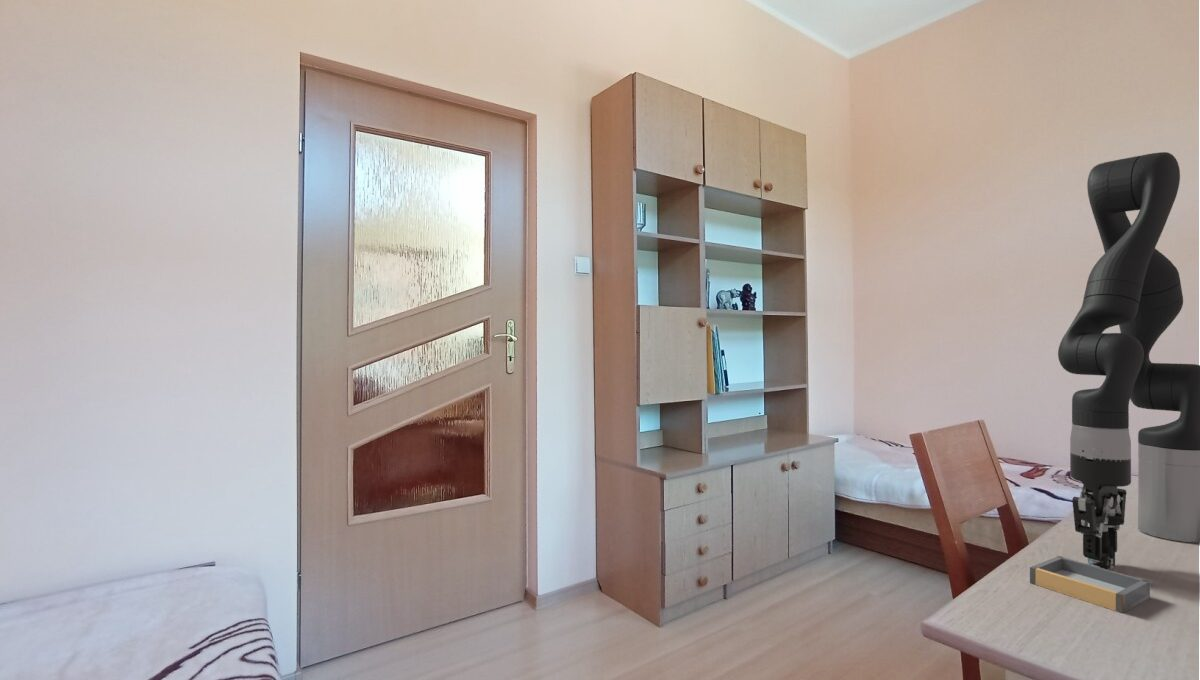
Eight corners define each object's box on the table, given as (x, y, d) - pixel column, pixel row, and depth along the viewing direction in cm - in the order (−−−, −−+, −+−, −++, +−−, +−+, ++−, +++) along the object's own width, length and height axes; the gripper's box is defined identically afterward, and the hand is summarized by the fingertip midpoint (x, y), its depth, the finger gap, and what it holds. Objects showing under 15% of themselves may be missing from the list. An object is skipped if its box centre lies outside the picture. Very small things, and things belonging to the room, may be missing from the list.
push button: (1112, 577, 88) (1112, 514, 88) (1071, 565, 93) (1071, 505, 93) (1127, 568, 92) (1127, 507, 92) (1086, 557, 96) (1086, 499, 96)
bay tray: (1058, 570, 91) (1058, 555, 91) (1149, 597, 81) (1149, 581, 81) (1029, 582, 86) (1029, 567, 86) (1122, 613, 76) (1122, 595, 76)
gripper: (1090, 445, 99) (1091, 540, 99) (1052, 453, 92) (1052, 555, 92) (1147, 452, 93) (1147, 554, 93) (1110, 462, 86) (1110, 572, 86)
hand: (1100, 554), depth 92 cm, fingers closed on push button, 5 cm apart
